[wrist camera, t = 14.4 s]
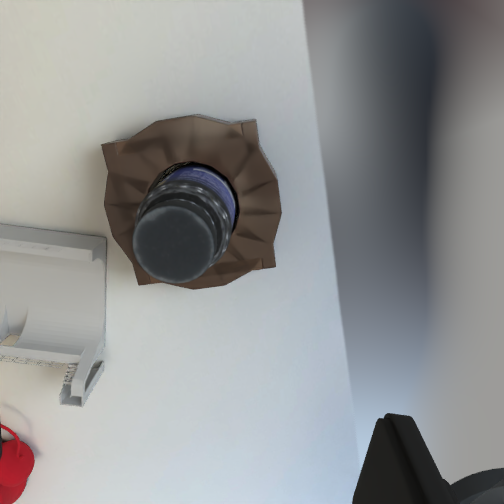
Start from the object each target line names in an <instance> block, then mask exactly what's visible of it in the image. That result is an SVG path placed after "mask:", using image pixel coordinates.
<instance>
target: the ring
mask: <svg viewBox="0 0 504 504" xmlns="http://www.w3.org/2000/svg"><path fill="white" fill-rule="evenodd" d="M101 146H102V150H103V154H104V157H105V161H106V165H107V169H108V177H107V185H106V192H105V200H104V206H105V210H106V214H107V217H108V221H109V224H110V228H111V232H112V235H113V237H114V239H115V240H116V242H117V243H118V244H119V246H120V247H121V248H122V250H123V251H124V252H125V254H126V255H127V256H128V258H129V259H130V261H131V262H132V263H133V267H134V271H135V274H136V278H137V282H138V285H146V284H154V283H166V282H163V281H160V280H157V279H156V278H153V277H152V276H150V275H149V274H148V273H147V272H146V271H144V269H143V268H142V267H141V266H140V265H139V263H138V262H137V259H136V258H135V255H134V252H133V247H132V236H133V232H134V229H135V217H136V213H137V211H138V208H139V206H140V204H141V202H142V201H143V199H144V198H145V196H146V195H147V194H148V193H150V192H151V191H152V190H153V189H154V188H155V187H156V186H157V184H158V181H159V179H160V178H161V176H162V175H163V173H164V172H165V170H166V169H168V168H169V167H171V166H172V165H174V164H179V163H186V162H192V161H193V162H197V163H201V164H205V165H209V166H212V167H213V168H215V169H216V170H217V171H219V172H220V173H222V174H223V175H224V176H226V177H227V178H228V180H229V182H230V183H231V185H232V186H233V188H234V190H235V191H236V193H237V198H238V204H239V213H238V217H237V219H236V220H235V222H234V223H233V227H232V233H231V238H230V242H229V245H228V247H227V249H226V251H225V253H224V254H223V256H222V257H221V258H220V260H218V261H217V262H216V263H215V264H214V265H212V266H211V267H210V268H208V269H207V270H206V271H205V272H204V273H203V274H202V275H201V276H199V277H198V278H196V279H194V280H192V281H189V282H185V283H176V284H173V283H167V284H171V285H175V286H180V287H184V288H188V289H193V290H194V289H202V288H209V287H217V286H224V285H227V284H228V283H230V282H232V281H234V280H236V279H237V278H239V277H241V276H243V275H245V274H247V273H248V272H250V271H252V270H260V269H266V268H273V267H276V262H275V253H274V246H273V243H274V239H275V236H276V232H277V229H278V225H279V221H280V218H281V214H282V211H281V203H280V196H279V188H278V180H277V176H276V173H275V170H274V169H273V167H272V165H271V164H270V162H269V160H268V158H267V157H266V155H265V153H264V151H263V150H262V148H261V146H260V144H259V137H258V130H257V123H256V119H251V120H245V121H243V122H242V121H238V122H232V123H231V122H227V121H223V120H219V119H215V118H211V117H208V116H204V115H200V114H199V115H198V114H196V115H190V116H184V117H177V118H171V119H165V120H160V121H156V122H154V123H153V124H151V125H150V126H148V127H147V128H145V129H144V130H142V131H141V132H139V133H138V134H136V135H135V136H133V137H132V138H129V139H123V140H116V141H112V142H108V143H105V144H102V145H101Z"/></svg>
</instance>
